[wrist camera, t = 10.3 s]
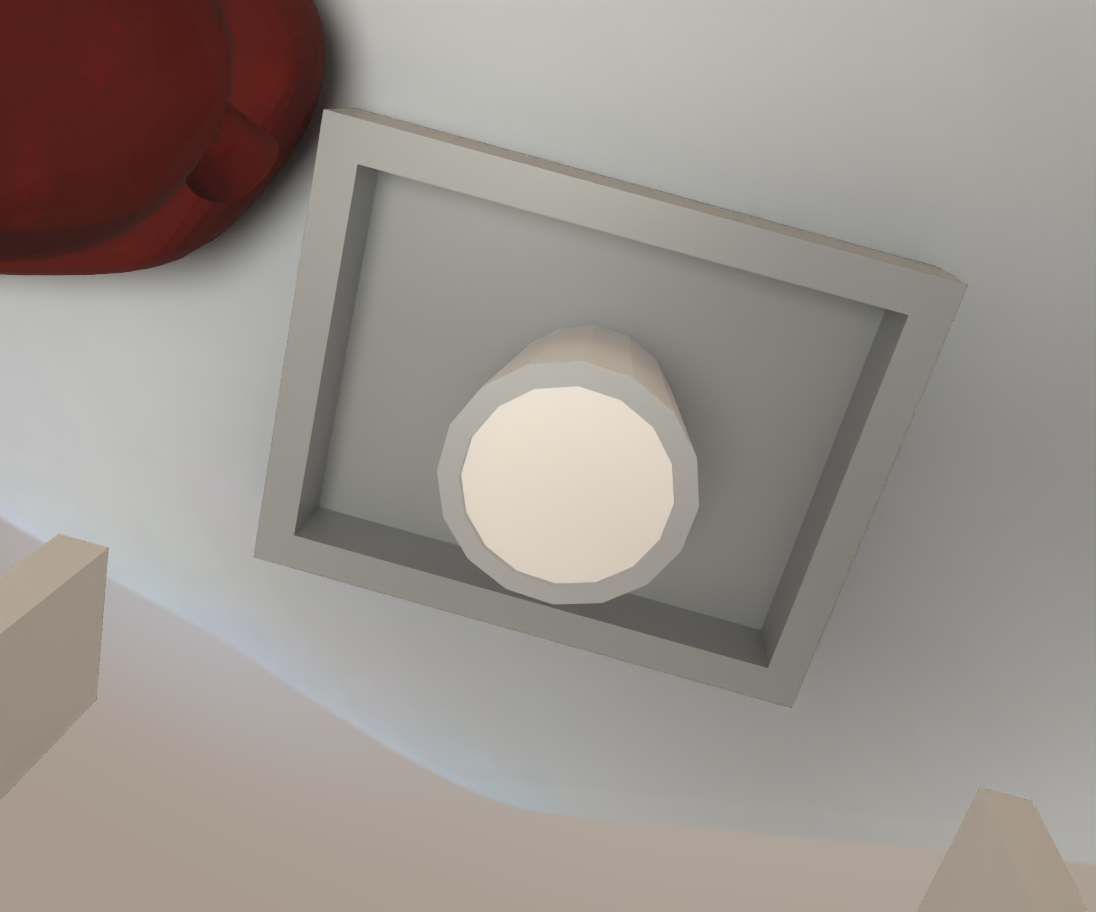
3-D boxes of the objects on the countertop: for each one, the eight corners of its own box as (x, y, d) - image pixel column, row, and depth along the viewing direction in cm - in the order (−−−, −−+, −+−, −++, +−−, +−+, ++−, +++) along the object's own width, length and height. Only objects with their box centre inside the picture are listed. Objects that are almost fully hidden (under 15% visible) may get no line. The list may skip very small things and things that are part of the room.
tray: (938, 267, 29) (967, 284, 26) (780, 658, 34) (791, 708, 32) (355, 108, 29) (323, 109, 27) (286, 520, 35) (253, 556, 32)
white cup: (517, 525, 33) (481, 630, 27) (454, 336, 31) (399, 399, 24) (714, 480, 32) (728, 578, 25) (662, 279, 30) (662, 329, 23)
